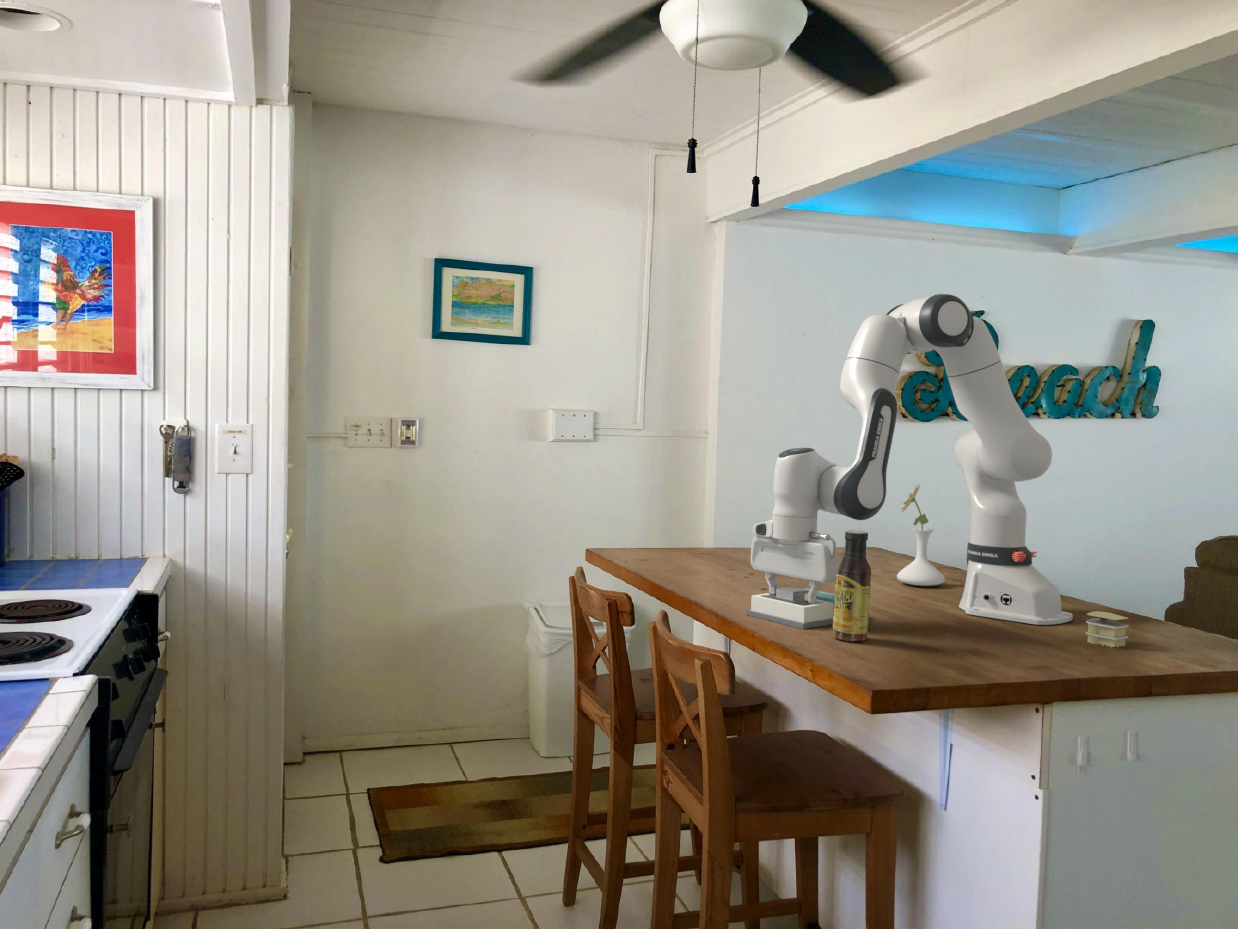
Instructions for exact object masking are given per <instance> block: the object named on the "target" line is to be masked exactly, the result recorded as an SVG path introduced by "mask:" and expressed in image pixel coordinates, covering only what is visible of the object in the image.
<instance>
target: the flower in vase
mask: <svg viewBox="0 0 1238 929" xmlns="http://www.w3.org/2000/svg"><path fill="white" fill-rule="evenodd" d="M920 487H921V486H920V483H918V484H916V485H914V487H913V488H912V489H913V490H912V491H910V492H909V493H908V498H907V499H906V500H904V501H903V503H902V506H901V507H900V511H901V513H902V512H904V511H906V510H907V509H908V508H909V507H910V505H911V504H912V503H914V504H915V505H916V508H917V510H918V513H919V516H917V517H916V518H915V519H914V521H913V523H912V525H913V526H916V525H917V524H918V523H920V526H921V527H913V528H911V530H912V532H913V533H914V535H915V536H914V537H915V539H916V555H915V559H914V560H913V561H911V563H909V564H908V565H906V566H904V568H902V569H901V570H899V572H898V573H897V575H896V578H897V580H898V581H899V582H902V583H904V584H907V585H911V586H918V587H932V586H939V585H941V584H943V583H944V582H945V581H946V578H945V575H944V574H943V573H941V572H940V571H939V570H938V569H937V567H935V566H934V565H933V564H932V563H931V562H930V561H929V559H928V554H927V552H928V551H927V550H928V549H927V548H928V542H929V537H930V535H931V534H932V533H933V532H934V529H932V528H925V527H924V525H925V524H928V523H929V519H928V518H927V516H926V514H925V513H923V514H922V512H921V509H920V507H919V504H918V502H917V501H916V498H915V497H916V496H917V494H918V492H919V490H920Z"/></svg>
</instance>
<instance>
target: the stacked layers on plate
mask: <svg viewBox="0 0 1238 929" xmlns="http://www.w3.org/2000/svg"><path fill="white" fill-rule="evenodd" d="M1086 615H1087V616H1090V617H1093V618H1090V619H1086V621H1085V623H1087V624H1088V625H1087V627H1088V628H1087V630H1086V631H1085V634H1086V635H1087V643H1088V642H1089V644H1093V645H1099V644H1102V645H1101V646H1104V645H1107V646H1106V647H1108V646H1110V647H1109V648H1112V647H1117V648H1120V647H1119V646H1124V647H1126V639H1128V638H1129V635H1126V634H1127V628H1129V625H1130V624H1126V623H1122V622H1119V620H1120V621H1121V620H1125V619H1126V620H1128V619H1129V617H1126V616H1123V615H1119V614H1116V613H1112V612H1107V611H1097V610H1096V611H1095V610H1094V611H1090V612H1088V613H1086Z"/></svg>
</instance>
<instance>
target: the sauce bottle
mask: <svg viewBox="0 0 1238 929" xmlns="http://www.w3.org/2000/svg"><path fill="white" fill-rule="evenodd" d="M868 539H869V532H867V531H866V530H865V531H864V530H855V529H849V530H846V531H845V532H844V540H845V543H844V544H845V546H844V552H843V553H844V554H843V556H842V558H841V562H840V563H839V565H838V571H837V574H836V580H835V587H834V594H835V602H834V617H833V624H832V632H833V633H832V634H833V637H834V638H835V639H837V640H839V641H843V642H847V643H848V642H850V643H851V642H852V643H853V642H854V643H855V642H864V641H866V640H867V638H868V635H867V634H868V629H869V619H870V615H869V613H870V604H871V601H870V600H871V589H872V588H871V586H872V584H871V577H872V568H871V566H870V564H869V562H868V559H867V541H868Z"/></svg>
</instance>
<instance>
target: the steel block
mask: <svg viewBox="0 0 1238 929" xmlns="http://www.w3.org/2000/svg"><path fill="white" fill-rule="evenodd" d="M806 589H807V588H806ZM806 589H805V588H800V587H796V586H786V587H780V588H776V600H779V601H784V602H788V603H793V604H797V605H802V606H807V605H808V603H807V602H805V601H804V599H805V593H808V592H809V590H806Z"/></svg>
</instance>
